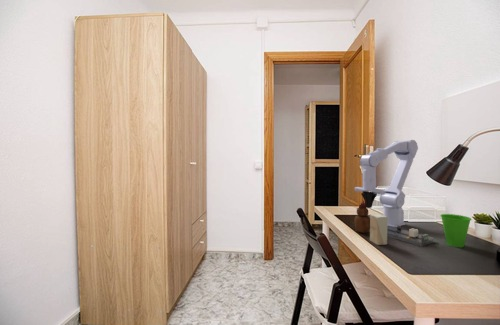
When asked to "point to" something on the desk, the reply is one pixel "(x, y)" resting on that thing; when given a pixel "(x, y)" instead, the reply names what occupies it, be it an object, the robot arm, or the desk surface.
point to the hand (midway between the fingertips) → (369, 207)
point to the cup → (455, 229)
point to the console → (404, 236)
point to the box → (378, 229)
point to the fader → (413, 232)
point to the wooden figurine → (362, 219)
